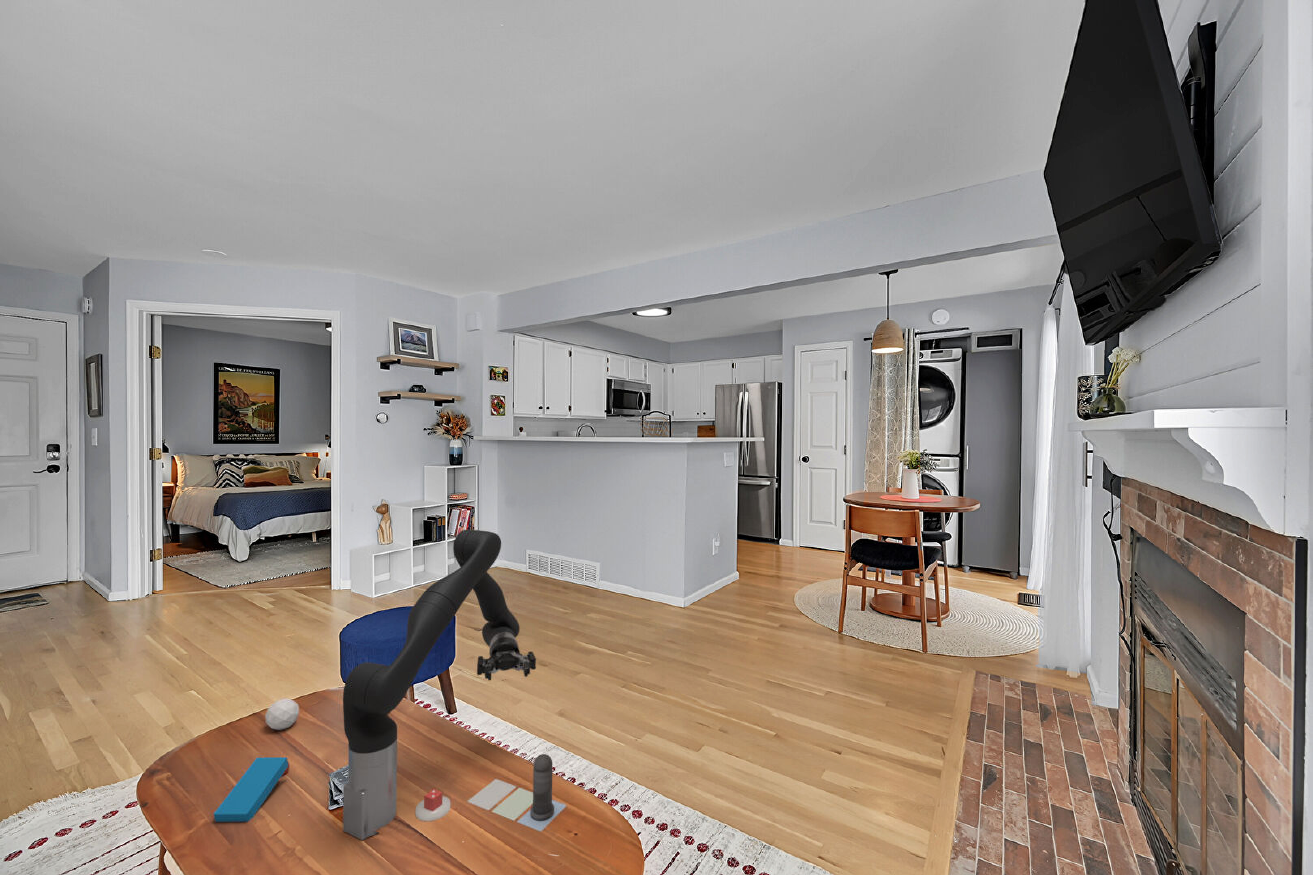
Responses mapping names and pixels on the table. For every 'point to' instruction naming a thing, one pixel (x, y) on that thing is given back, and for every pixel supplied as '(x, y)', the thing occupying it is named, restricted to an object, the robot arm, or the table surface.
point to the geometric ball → (282, 714)
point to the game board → (512, 803)
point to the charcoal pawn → (542, 789)
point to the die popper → (433, 806)
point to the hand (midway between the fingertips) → (508, 674)
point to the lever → (252, 790)
